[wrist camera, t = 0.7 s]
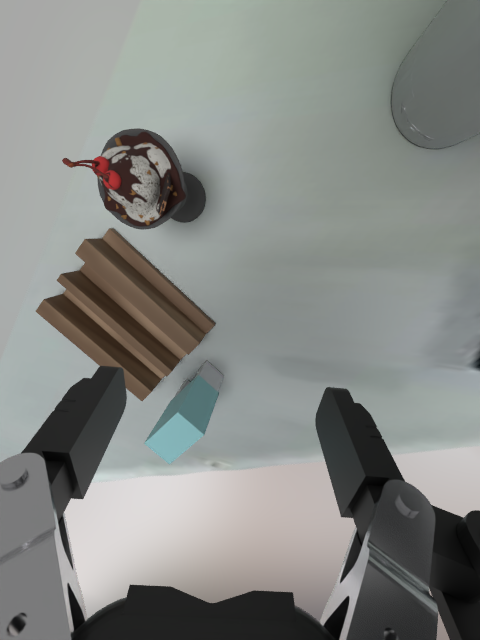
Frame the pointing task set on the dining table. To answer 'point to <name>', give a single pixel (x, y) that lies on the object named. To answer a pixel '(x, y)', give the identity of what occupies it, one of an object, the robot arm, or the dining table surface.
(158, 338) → the rail
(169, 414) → the aqua box with feet
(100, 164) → the sundae
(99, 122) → the dining table surface
